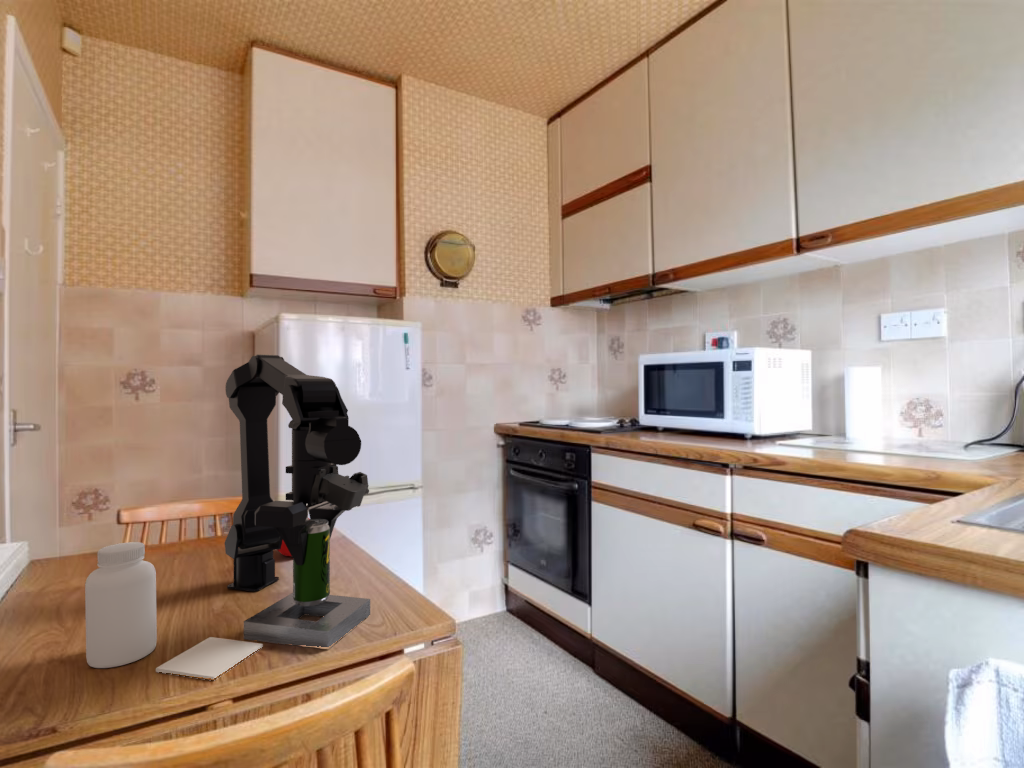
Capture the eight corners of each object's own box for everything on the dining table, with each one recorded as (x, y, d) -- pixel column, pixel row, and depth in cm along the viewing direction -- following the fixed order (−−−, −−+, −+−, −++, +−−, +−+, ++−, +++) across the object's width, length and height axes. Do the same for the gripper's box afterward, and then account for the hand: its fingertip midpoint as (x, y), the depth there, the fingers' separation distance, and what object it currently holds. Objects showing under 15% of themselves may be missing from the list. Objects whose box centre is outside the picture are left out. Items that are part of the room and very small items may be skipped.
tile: (155, 672, 70) (155, 668, 70) (210, 640, 79) (210, 636, 79) (213, 680, 68) (213, 676, 68) (262, 647, 77) (262, 643, 77)
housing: (243, 639, 79) (243, 621, 79) (295, 606, 91) (295, 591, 91) (328, 650, 76) (328, 631, 76) (370, 614, 88) (370, 598, 88)
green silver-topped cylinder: (296, 609, 80) (296, 528, 80) (289, 597, 85) (289, 521, 85) (333, 601, 83) (333, 523, 83) (325, 590, 88) (325, 516, 88)
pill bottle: (110, 642, 78) (110, 539, 78) (168, 640, 79) (168, 538, 79) (70, 671, 70) (70, 556, 70) (135, 668, 71) (135, 554, 71)
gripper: (322, 469, 73) (322, 585, 73) (386, 452, 91) (386, 545, 91) (252, 466, 76) (252, 578, 76) (328, 451, 94) (328, 540, 94)
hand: (311, 558), depth 84 cm, fingers closed on green silver-topped cylinder, 5 cm apart
